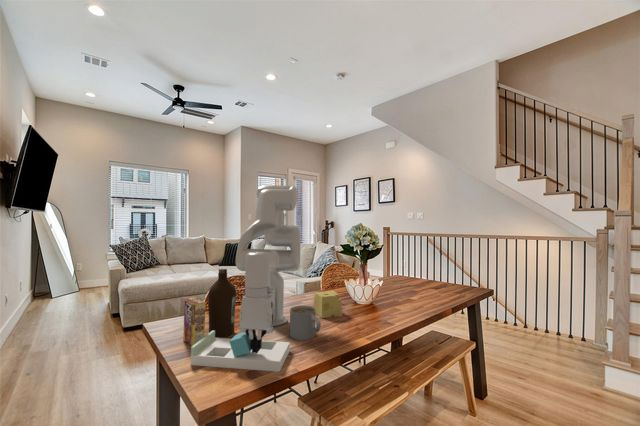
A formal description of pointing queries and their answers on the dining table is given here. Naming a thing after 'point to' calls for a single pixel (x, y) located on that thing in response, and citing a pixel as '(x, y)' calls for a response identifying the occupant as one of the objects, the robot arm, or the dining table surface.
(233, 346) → the block
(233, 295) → the olive oil
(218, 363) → the white board with holes
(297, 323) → the coffee mug
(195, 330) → the candy box
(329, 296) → the cheese
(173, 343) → the dining table surface
